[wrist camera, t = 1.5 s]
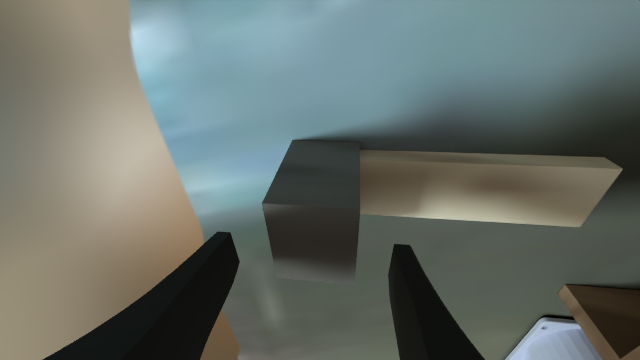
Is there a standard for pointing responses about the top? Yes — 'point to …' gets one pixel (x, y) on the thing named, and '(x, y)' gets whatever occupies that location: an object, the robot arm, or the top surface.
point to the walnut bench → (606, 319)
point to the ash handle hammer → (413, 197)
